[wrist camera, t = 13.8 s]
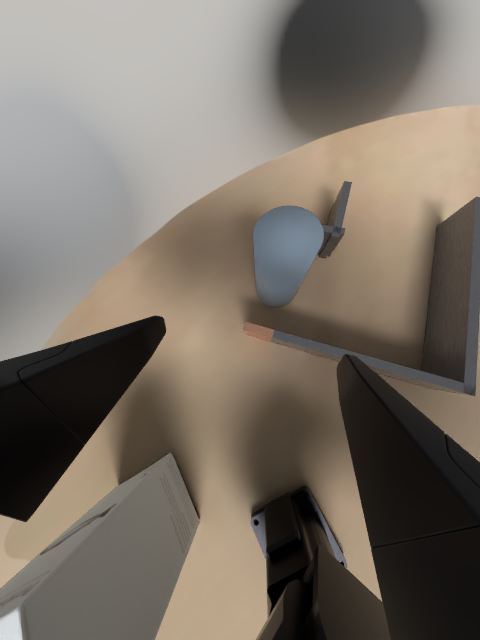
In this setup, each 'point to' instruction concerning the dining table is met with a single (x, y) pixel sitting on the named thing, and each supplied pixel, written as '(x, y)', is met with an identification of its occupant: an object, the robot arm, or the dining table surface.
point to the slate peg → (284, 252)
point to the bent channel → (443, 310)
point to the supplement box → (107, 566)
